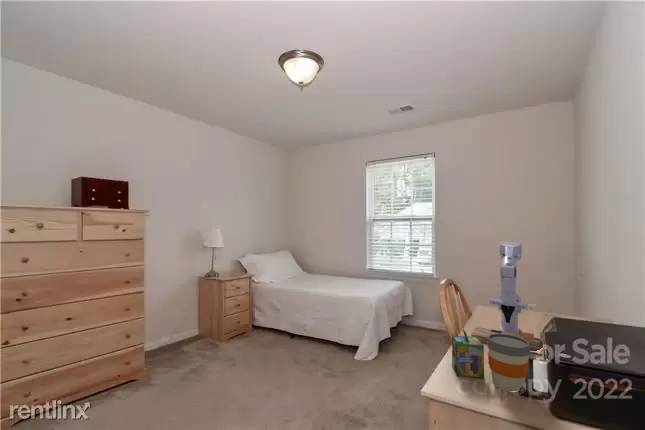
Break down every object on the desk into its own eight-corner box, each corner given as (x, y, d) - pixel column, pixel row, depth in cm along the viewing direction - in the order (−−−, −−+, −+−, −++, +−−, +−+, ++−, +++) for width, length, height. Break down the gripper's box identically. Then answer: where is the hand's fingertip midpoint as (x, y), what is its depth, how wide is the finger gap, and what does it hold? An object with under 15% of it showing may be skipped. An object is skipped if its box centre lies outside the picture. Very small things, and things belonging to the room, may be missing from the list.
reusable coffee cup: (537, 388, 104) (537, 342, 105) (518, 400, 98) (518, 351, 98) (498, 372, 115) (499, 330, 115) (479, 381, 108) (479, 337, 108)
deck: (476, 331, 156) (476, 320, 156) (542, 344, 141) (542, 332, 141) (471, 339, 146) (471, 327, 146) (542, 355, 130) (542, 341, 130)
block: (522, 338, 141) (522, 329, 141) (533, 340, 139) (533, 331, 139) (522, 341, 138) (522, 332, 138) (533, 343, 136) (533, 333, 136)
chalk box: (484, 379, 110) (484, 336, 110) (456, 376, 112) (456, 334, 112) (477, 366, 119) (477, 327, 119) (451, 364, 121) (451, 325, 121)
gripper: (488, 291, 144) (488, 321, 144) (526, 296, 135) (526, 328, 135) (491, 288, 150) (490, 317, 150) (527, 293, 141) (527, 323, 141)
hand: (507, 322), depth 143 cm, fingers closed
